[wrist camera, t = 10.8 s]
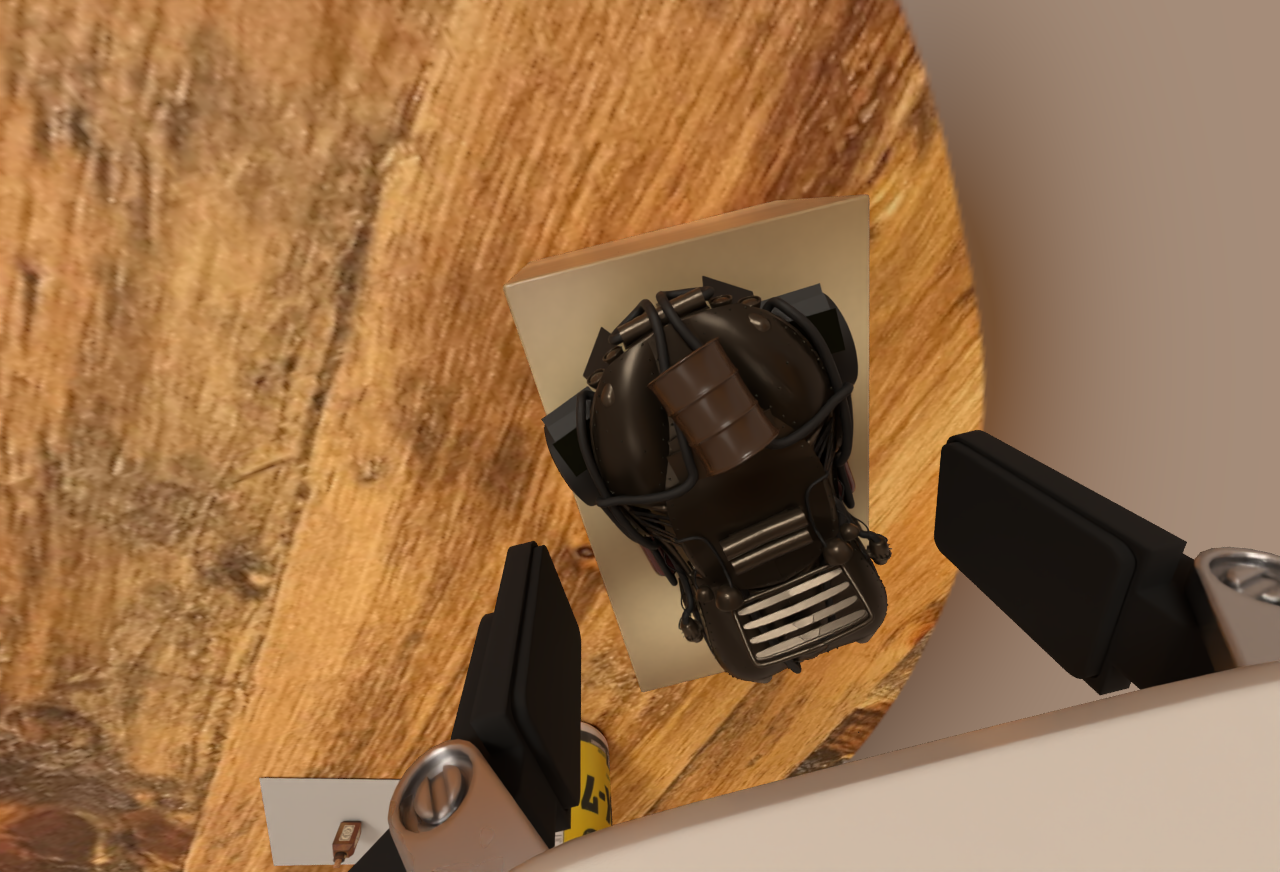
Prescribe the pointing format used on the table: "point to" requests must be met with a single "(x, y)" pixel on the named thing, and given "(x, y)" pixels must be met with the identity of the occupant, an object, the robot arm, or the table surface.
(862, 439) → the birch block
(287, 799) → the gray square plate
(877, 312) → the table surface
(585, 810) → the supplement bottle
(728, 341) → the toy car
